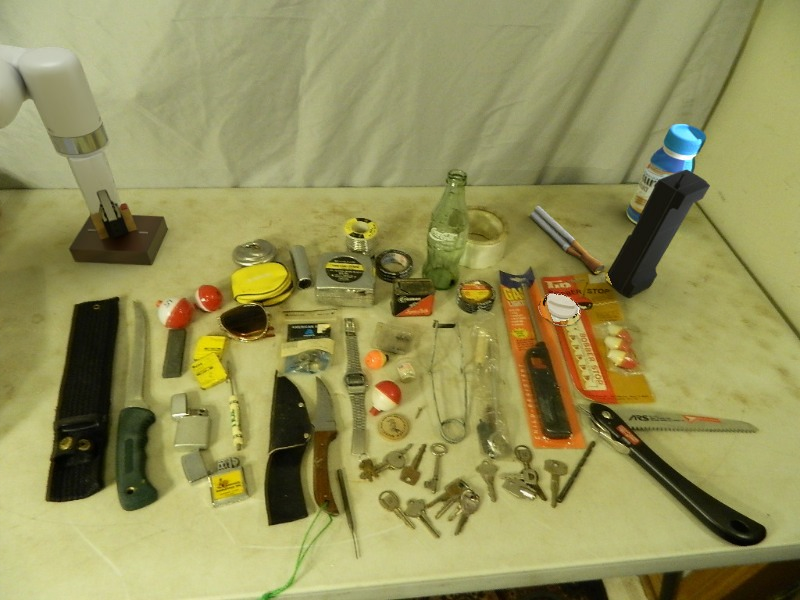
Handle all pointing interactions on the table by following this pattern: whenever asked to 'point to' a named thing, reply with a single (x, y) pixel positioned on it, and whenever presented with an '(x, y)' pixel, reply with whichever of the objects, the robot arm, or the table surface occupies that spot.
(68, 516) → the table surface
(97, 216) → the light wood flat block
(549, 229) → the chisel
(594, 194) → the table surface
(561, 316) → the stove knob
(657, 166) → the beverage bottle
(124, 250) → the dark brown flat block
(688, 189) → the black long block
